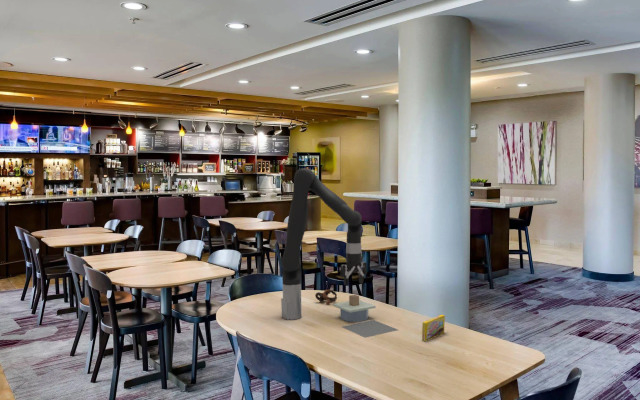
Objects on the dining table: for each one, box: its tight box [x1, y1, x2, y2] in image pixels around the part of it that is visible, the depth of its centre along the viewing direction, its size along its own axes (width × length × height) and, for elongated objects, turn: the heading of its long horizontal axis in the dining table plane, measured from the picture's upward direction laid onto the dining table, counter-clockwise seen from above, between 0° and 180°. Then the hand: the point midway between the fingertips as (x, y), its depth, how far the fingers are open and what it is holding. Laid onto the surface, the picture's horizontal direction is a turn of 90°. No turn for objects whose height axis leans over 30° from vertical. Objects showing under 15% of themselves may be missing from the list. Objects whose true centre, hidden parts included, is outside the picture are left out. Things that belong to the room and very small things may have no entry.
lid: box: [332, 294, 377, 313], centre depth 260 cm, size 15×15×6 cm
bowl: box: [339, 308, 369, 323], centre depth 260 cm, size 13×13×6 cm
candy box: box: [421, 313, 446, 342], centre depth 231 cm, size 16×2×8 cm, turn 137°
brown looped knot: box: [315, 289, 338, 306], centre depth 292 cm, size 12×10×8 cm
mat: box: [341, 319, 399, 339], centre depth 243 cm, size 19×19×1 cm
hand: (353, 284), depth 259 cm, fingers open, 8 cm apart
